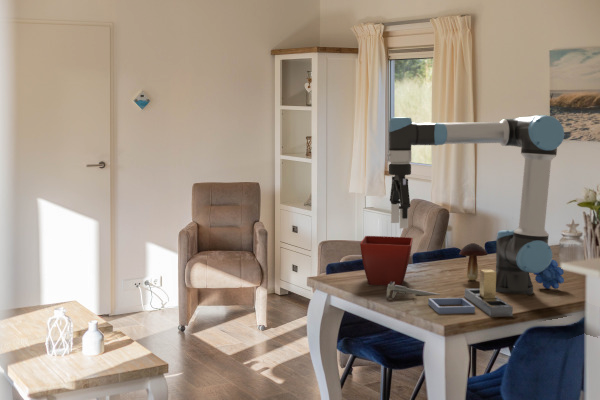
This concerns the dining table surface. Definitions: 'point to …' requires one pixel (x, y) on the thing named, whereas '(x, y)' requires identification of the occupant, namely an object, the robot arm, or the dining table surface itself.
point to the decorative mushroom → (473, 259)
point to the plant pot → (385, 259)
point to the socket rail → (489, 304)
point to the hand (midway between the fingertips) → (399, 225)
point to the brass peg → (487, 284)
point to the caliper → (405, 290)
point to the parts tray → (465, 308)
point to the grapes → (550, 276)
